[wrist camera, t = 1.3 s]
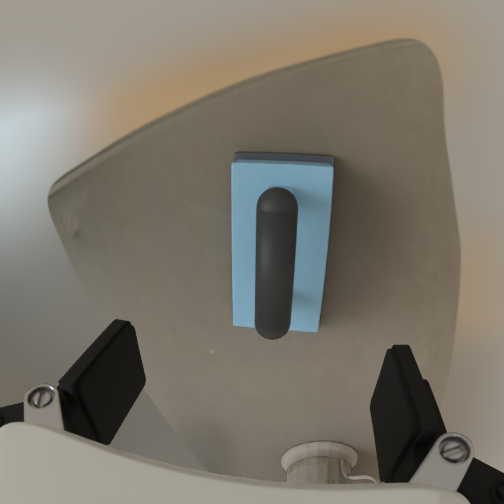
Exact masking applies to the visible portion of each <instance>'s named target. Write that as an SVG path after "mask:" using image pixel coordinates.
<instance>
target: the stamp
mask: <svg viewBox="0 0 504 504" xmlns="http://www.w3.org/2000/svg"><path fill="white" fill-rule="evenodd" d="M334 165H335V157H334V156H330V155H315V154H297V153H273V152H236V153H235V162H233V163H232V285H233V325H234V326H242V327H253V328H256V330H257V331H258V333H259V334H260V335H261V336H262V337H264V338H267V339H271V340H274V339H278V338H281V337H282V336H284V335H285V334H286V333H287V332H288V330H290V331H305V332H318V330H319V324H320V317H321V309H322V301H323V293H324V285H325V276H326V267H327V257H328V247H329V236H330V225H331V212H332V198H333V183H334Z"/></svg>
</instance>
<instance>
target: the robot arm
mask: <svg viewBox="0 0 504 504" xmlns="http://www.w3.org/2000/svg"><path fill="white" fill-rule="evenodd" d="M145 382H146V377H145V373H144V369H143V364H142V360H141V355H140V351H139V346H138V342H137V337H136V332H135V328H134V326H132V325H131V323H130V322H129V321H124V320H119V319H115V320H114V321H113V322H112V323H111V324H110V325H109V326H108V327H107V328H106V329H105V330H104V331H103V332H102V334H101V335H100V336H99V337H98V338H97V339H96V340H95V341H94V342H93V343H92V345H91V346H90V347H89V348H88V349H87V350H86V351H85V352H84V353H83V354H82V356H81V357H80V358H79V359H78V360H77V361H76V362H75V363H74V364H73V366H72V367H71V368H70V369H69V370H68V371H67V372H66V374H65V375H64V376H63V377H62V378H61V379H60V380H59V385H58V387H57V388H56V387H55V386H53V385H51V384H47V383H43V384H38V385H35V386H33V387H31V388H30V389H29V390H28V391H27V392H26V394H25V396H24V402H22V403H18V404H14V405H9V406H5V407H1V408H0V504H504V473H503V472H501V471H499V470H497V469H495V468H493V467H491V466H489V465H487V464H485V463H483V462H482V461H480V460H478V459H476V458H474V457H473V456H474V446H473V444H472V442H471V440H470V439H469V438H468V437H466V436H465V435H463V434H460V433H457V432H449V433H447V431H446V428H445V426H444V423H443V420H442V417H441V414H440V411H439V409H438V406H437V403H436V400H435V398H434V395H433V393H432V390H431V387H430V385H429V383H428V381H427V380H426V379H423V378H422V376H421V373H420V371H419V368H418V366H417V363H416V361H415V358H414V356H413V353H412V351H411V348H410V346H409V345H393V346H392V348H391V349H388V350H387V352H386V355H385V358H384V362H383V365H382V368H381V372H380V375H379V378H378V381H377V384H376V387H375V390H374V393H373V396H372V399H371V403H370V412H371V418H372V424H373V431H374V438H375V445H376V452H377V459H378V467H379V476H380V481H381V482H385V483H371V484H310V483H291V482H278V481H267V480H258V479H249V478H242V477H234V476H228V475H222V474H216V473H210V472H205V471H200V470H195V469H190V468H185V467H181V466H176V465H172V464H168V463H164V462H160V461H156V460H153V459H148V458H145V457H142V456H138V455H135V454H132V453H128V452H125V451H122V450H119V449H115V448H113V447H110V446H107V445H109V444H110V443H111V441H112V439H113V438H114V436H115V434H116V433H117V431H118V429H119V427H120V426H121V424H122V423H123V421H124V419H125V417H126V416H127V414H128V412H129V411H130V409H131V407H132V406H133V404H134V402H135V401H136V399H137V397H138V396H139V394H140V392H141V391H142V389H143V387H144V385H145Z"/></svg>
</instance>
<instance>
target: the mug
mask: <svg viewBox="0 0 504 504" xmlns="http://www.w3.org/2000/svg"><path fill="white" fill-rule="evenodd" d="M357 460H358V457H357V453H356V451H355V450H354V449H353V448H352V447H350V446H348V445H345V444H343V443H338V442H332V441H316V442H309V443H304V444H301V445H298V446H295V447H293V448H291V449H290V450H288V451H287V452H286V453H285V454H284V455H283V457H282V461H281V465H282V466H283V468H284V470H286V474H287V482H291V483H310V484H352V479H353V480H357V479H371V480H372V481H374V483H381V482H380V481H379V479H378V478H377V477H375V476H374V475H370V474H364V475H352V474H351V471H352V468H353V467H354V466H355V465H356V462H357Z"/></svg>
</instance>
